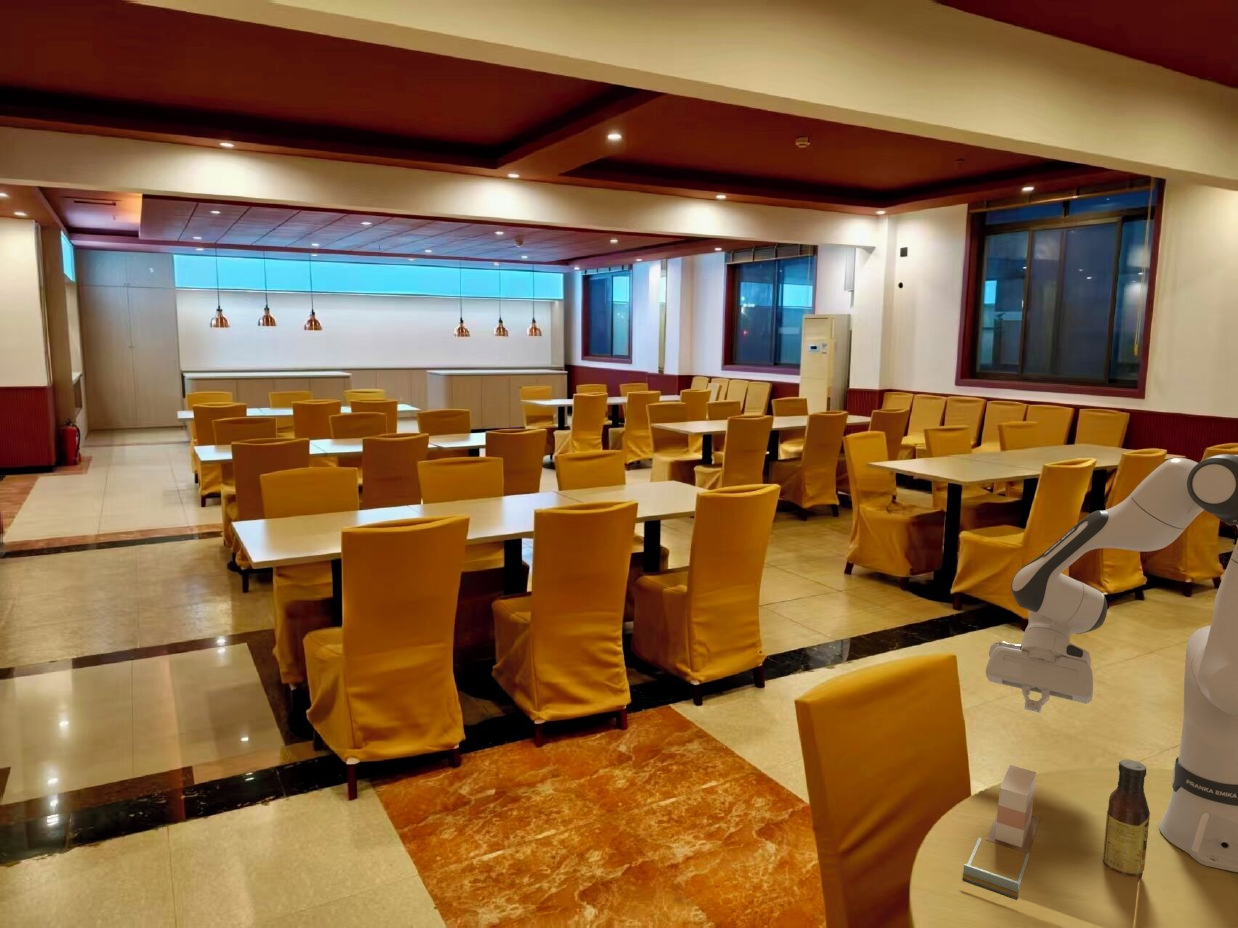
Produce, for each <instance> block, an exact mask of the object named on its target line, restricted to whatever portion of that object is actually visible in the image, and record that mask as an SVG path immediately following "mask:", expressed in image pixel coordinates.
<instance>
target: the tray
mask: <svg viewBox="0 0 1238 928" xmlns="http://www.w3.org/2000/svg"><path fill="white" fill-rule="evenodd" d="M982 839H983V838H981V837H978V839H977V840H976V843H975V846H974V848H973V850H972V852H971V854H970V857H969V859H968V861H967V863H964V864H963V873H962V874H965V875H967V876H970V877H973V878H976V879H979V880H981V881H985V882H987V883H990V884H993V885H996V886H999V887H1001V888H1003V889H1007V890H1010V891H1013V892H1016V893H1018V892H1019V889H1020V886H1021V883H1022V879H1023V878H1024V877H1023V876H1024V874H1025V871H1026V868H1027V864H1028V862H1029V859H1030V856H1031V854H1030V853H1029V854H1028V853H1025V858H1024V860H1023V864H1022V867H1021V870H1020V871H1019V872H1020V873H1019V876H1018V878H1017V880H1014V879H1011V878H1008V877H1006V876H1003V875H1000V874H996V873H993V872H991V871H988V870H985V869H981V868H979V867H977V866H972V862H973V860H974V858H975V855H976V853H977V852H978V851H977V850H978V849H979V846H980V843H981V841H982ZM962 882H965V883H968V884H970V885H972V886H976V887H978V888H981V889H984V890H986V891H990V892H993V893H995V894H998V895H1000V896H1004V897H1006V898H1009V899H1012V900H1015V901H1018V898H1019V896H1017V895H1014V894H1011V893H1008V892H1005V891H1003V890H999V889H997V888H994V887H990V886H987V885H985V884H982V883H979V882H977V881H975V880H974V881H973V880H972V879H968V878H966V877H962Z"/></svg>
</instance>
